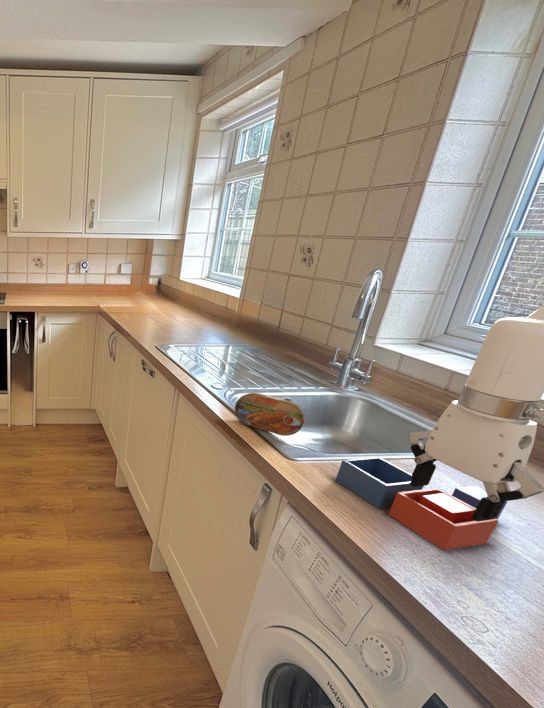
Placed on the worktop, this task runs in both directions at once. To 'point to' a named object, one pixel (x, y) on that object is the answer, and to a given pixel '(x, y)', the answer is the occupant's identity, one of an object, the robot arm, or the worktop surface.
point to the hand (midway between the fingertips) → (448, 500)
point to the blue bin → (375, 479)
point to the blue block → (472, 496)
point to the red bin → (439, 522)
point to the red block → (447, 507)
